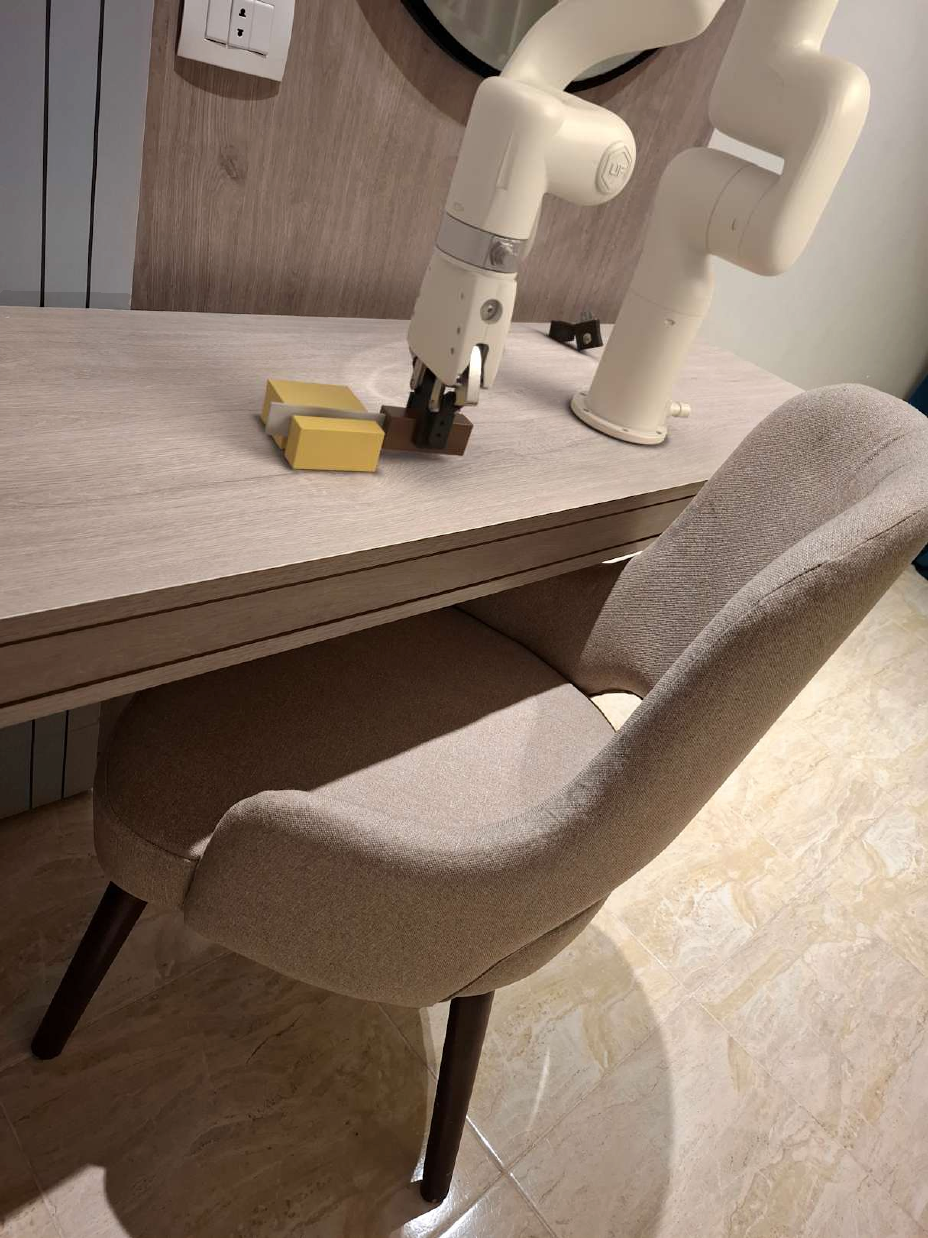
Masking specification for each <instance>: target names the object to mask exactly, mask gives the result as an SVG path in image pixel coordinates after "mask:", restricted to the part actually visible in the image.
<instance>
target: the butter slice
mask: <svg viewBox="0 0 928 1238" xmlns="http://www.w3.org/2000/svg"><path fill="white" fill-rule="evenodd" d="M384 435H385V433H384V431H383V430H382V429H381V428H380V426H379V425H378V424H377V423H376V421H368V420H354V419H339V418H325V417H310V416H295V415H293V416H292V421H291V426H290V431H289V436H288V441H287V446H286V449H285V452H284V457H285V459H286V461H287V462H288V464H289V465H290V466H291V467H290V468H292V469H293V470H316V471H317V470H318V471H341V472H342V471H343V472H344V471H346V472H370V473H371V472H373V473H374V472H376V469H377V466H378V465H377V464H378V461H379V458H380V457H379V456H380V454H381V450H382V449H381V446H382V442H383V438H384Z"/></svg>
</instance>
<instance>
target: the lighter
mask: <svg viewBox="0 0 928 1238" xmlns="http://www.w3.org/2000/svg"><path fill="white" fill-rule="evenodd" d="M580 315H581V319H576V321H575V323H572V322H569V321H564V320H553V319H551V320H550V325H549V332H548V337H550V338H551V339H552V340H555V341H557V342H562V343H570V342H574V341H575V344H576V350H577V352H581V351H586V350H590V349H591V350H592V349H596V348H600V347H604V342H603V338H602V334H601V333H602V332H601V320H600V319H599V318H598V317H597V318H594V317H595V316H594V313H593V312H591V311H584V312H581V314H580Z"/></svg>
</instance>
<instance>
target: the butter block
mask: <svg viewBox="0 0 928 1238" xmlns="http://www.w3.org/2000/svg"><path fill="white" fill-rule="evenodd" d="M271 402H278V403H287V404H297V405H306V406H316V407H325V408H335V409H344V410H353V411H363V412H369V411H368V410H367V409H366V407H365V406H364V404H363V403H362V402H361V401H360V400H359V399H358V397H357V396H356V395H355V393H354V392H353V391H352V390H351V389H350V387H349V386H348V385H341V384H340V385H339V384H332V383H331V384H330V383H319V382H306V381H297V380H296V381H295V380H283V379H273V378H268V379H267V382H266V387H265V393H264V400H263V405H262V411H261V416H260V419H261V421H262V423H264V425H265V426H266V422H267V417H268V412H269V408H270V403H271ZM271 436H272V439H273V440H274V442H275V443H276V445H277V446H278V448H279V449H280V450H286V446H287V441H288V436H276V435H271Z"/></svg>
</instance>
